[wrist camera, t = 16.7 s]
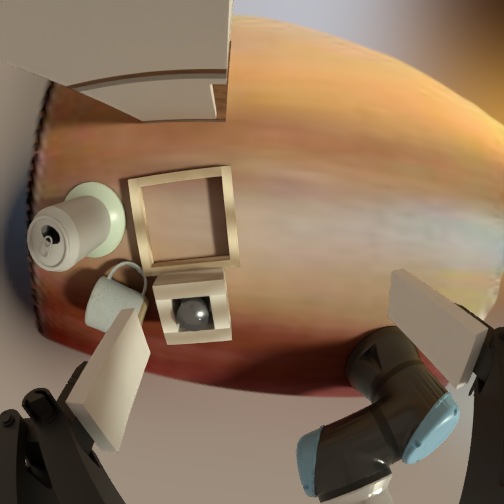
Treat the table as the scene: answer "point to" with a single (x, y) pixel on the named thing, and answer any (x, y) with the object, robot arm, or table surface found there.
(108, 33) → the tall seamed white tower
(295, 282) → the table surface
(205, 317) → the glossy grey oval piece
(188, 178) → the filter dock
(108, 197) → the pad
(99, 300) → the ceramic mug
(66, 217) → the can
